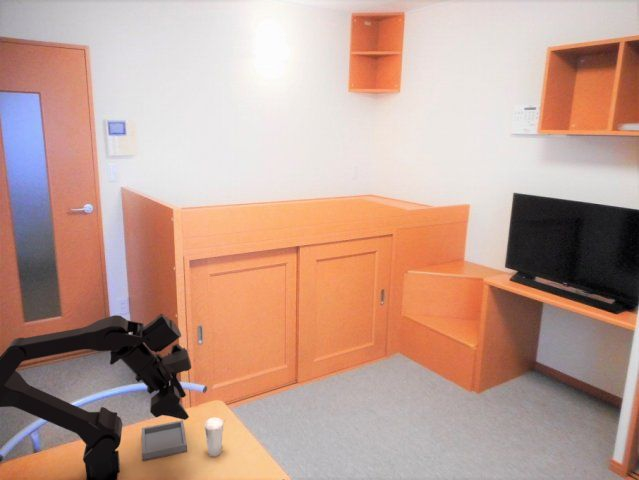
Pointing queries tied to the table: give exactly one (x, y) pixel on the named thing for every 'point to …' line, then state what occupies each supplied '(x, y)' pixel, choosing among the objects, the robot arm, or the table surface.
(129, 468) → the table surface
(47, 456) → the table surface
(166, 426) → the tray
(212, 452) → the milkshake
